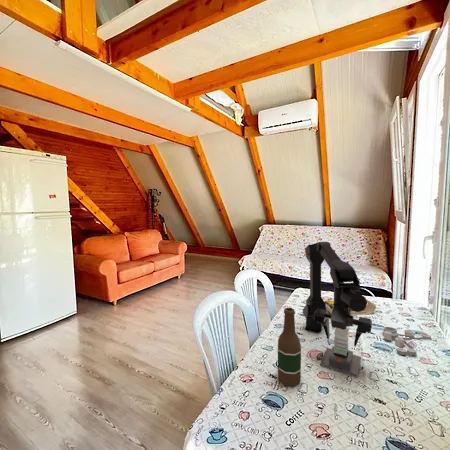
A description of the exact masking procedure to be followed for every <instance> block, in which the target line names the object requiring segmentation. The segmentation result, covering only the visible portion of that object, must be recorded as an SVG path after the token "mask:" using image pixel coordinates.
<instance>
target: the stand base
mask: <svg viewBox="0 0 450 450" xmlns="http://www.w3.org/2000/svg"><path fill="white" fill-rule="evenodd" d="M361 361H362V356H360V355H355V354H354V351H352V350H349V349H348V352H347V355H346V356H345V355H341V354H338V353H334V345H332V347H331V348H329V347H326V349H325V351H324V353H323V356H322V358H321V360H320V362H319V366H320V367H323V368H326V369H329V370H332V371H335V372H339V373H342V374H345V375H348V376H351V377H355V378H358V376H359V372H360V371H359V370H360V365H361Z"/></svg>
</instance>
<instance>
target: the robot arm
mask: <svg viewBox="0 0 450 450" xmlns="http://www.w3.org/2000/svg"><path fill="white" fill-rule="evenodd" d="M304 249H305V250H304V252H305V257H306V259H307V261H308V263H309V296H308V297H307V299H306V301H305V306H304V307H303V309H302V314H303V317H305V328H304V331H306V332H307V331H308V332H312V333H316V334H320V333H321V331H322V330H324V333H325V336H326V338H327V340H330V326H331V327H332V328H334V329H336V328H340V329H342V330H345V329H346V328H350V327H353V326H356V331H355V336H354V342H353V343H354V344H353V347H356V346H357V344H358V341H359V339H360V337H361V336H362V334H367V333H371V332H372V329H373V320H372V319H371V318H369V317H363V316H359V317H358V319H357V318H355V317H354V315H351V309H352V310H353V311H355V312H361V311H363V310H364V309H365V308H366V306H367V305H368V303H367V301H366V299H367V298H366V297H365V296H364V295H363V294H362V291H361V290H360V289H361V282H360V279H359V277H358V275H357V272H356V270H355V268H354V267H353V266H352V265H351V264H350V263H348V262H345V261H343V260H342V259H341V258H340V257H339V255H338V253H336V251H335V250H334V248H333V247H332V245H331V243H330V242H328V241H318V242H316V243H312V244H307V245H306V246H305V248H304ZM324 261H325V263H326V264H327V265H328V267H329V269H330V271H329V275H330V278H331V280H332V282H331V284H332V285H333V301H334V307H333V311H332V314H331V313H329V311H328V310H327V309H326V303H325V300H324V299H323V297H322V264H323V262H324Z"/></svg>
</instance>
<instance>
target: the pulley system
mask: <svg viewBox="0 0 450 450" xmlns="http://www.w3.org/2000/svg"><path fill="white" fill-rule="evenodd" d="M397 331H398V330H397V329H396V328H394V327H392V326H391V327H390V326H384V327H383V330H382V336H383V339H385V341H386V340H387V341H393V342H394V345H395V347H397V348H396V353H398V354H400V355H402V356H403V355H407V356H408V355H409V356H410V355H411V356H416V355H417V350H416V349H415V348H414V347H413V346H411V345H410V344H409V343H408V342H407V341H413V340H412V339H430V340H432V335H430V334H428V333H426V332H424V331H422V330H416V331H415V332H414V331H413V330H410V329H405V330H404V334H402V333H401V334H400V333H398V332H397ZM416 332H417V333H418V334H422V335H421V336H423V337H415V336H416V335H418V334H417V333H416ZM415 334H416V335H415ZM414 335H415V336H414ZM403 336H405V337H403ZM407 337H409V338H407ZM404 346H408V348H406V349H405V348H403V347H404Z"/></svg>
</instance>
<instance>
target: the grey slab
mask: <svg viewBox="0 0 450 450" xmlns="http://www.w3.org/2000/svg"><path fill="white" fill-rule="evenodd" d="M334 329H335V330H334V332H333V334H334V338H333V339H334V343H333V344H334V345H333V346H334V353H338V354H341V355H345V356H346V355H347V352H348V350H349V330H350V328H349V327H347V328H346V329H345V330H342V329H340V328H334Z"/></svg>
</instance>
